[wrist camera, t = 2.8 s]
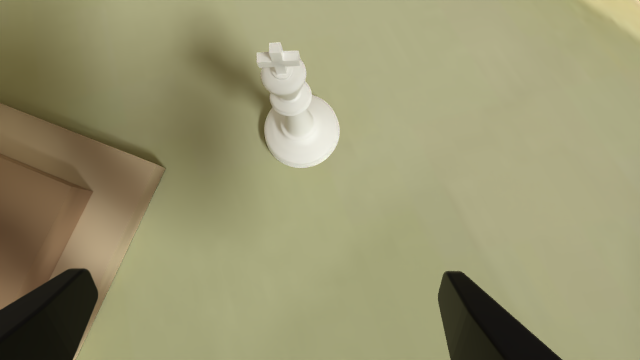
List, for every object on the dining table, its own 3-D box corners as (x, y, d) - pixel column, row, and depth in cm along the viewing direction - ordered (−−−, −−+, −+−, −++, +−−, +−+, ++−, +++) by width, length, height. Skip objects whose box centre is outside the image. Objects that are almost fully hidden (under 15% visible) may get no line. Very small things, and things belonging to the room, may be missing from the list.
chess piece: (265, 97, 24) (214, -6, 14) (338, 95, 24) (337, -13, 14) (264, 169, 23) (208, 111, 13) (340, 166, 23) (341, 106, 13)
